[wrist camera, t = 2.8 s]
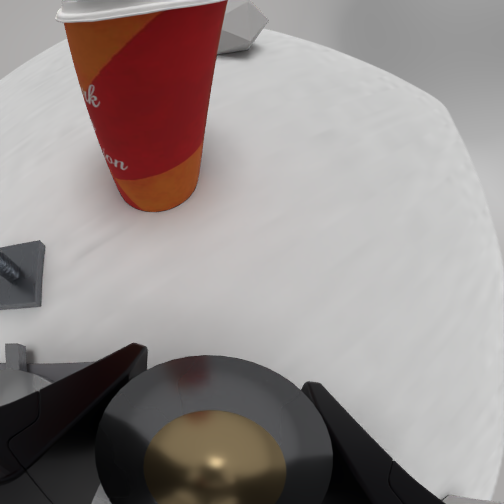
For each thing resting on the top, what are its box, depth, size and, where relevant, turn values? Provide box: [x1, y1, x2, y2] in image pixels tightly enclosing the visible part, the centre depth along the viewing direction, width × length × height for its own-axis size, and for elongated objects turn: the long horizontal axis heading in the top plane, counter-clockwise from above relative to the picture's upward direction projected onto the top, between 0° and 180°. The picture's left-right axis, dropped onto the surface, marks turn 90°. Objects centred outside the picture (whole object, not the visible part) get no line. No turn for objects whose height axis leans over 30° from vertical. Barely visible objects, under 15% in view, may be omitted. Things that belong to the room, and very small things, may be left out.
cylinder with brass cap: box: [95, 355, 333, 504], centre depth 8 cm, size 6×6×10 cm
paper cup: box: [56, 0, 228, 212], centre depth 13 cm, size 8×8×14 cm
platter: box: [0, 344, 111, 504], centre depth 9 cm, size 11×10×1 cm
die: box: [217, 0, 269, 55], centre depth 26 cm, size 8×9×10 cm
